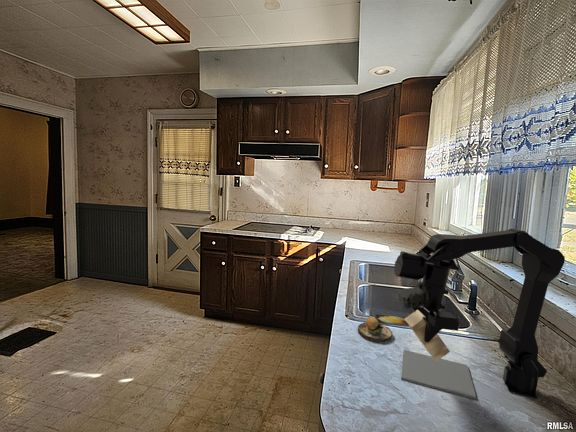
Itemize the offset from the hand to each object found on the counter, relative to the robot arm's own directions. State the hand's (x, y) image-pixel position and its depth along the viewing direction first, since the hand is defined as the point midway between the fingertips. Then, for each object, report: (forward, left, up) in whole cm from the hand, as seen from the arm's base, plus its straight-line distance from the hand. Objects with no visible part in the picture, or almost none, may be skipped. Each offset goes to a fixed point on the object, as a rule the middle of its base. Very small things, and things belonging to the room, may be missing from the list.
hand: (422, 336), depth 84 cm
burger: (+14, -21, -13) cm, 29 cm away
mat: (-5, -6, -13) cm, 15 cm away
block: (-5, -2, -4) cm, 7 cm away
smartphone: (+8, -35, -13) cm, 38 cm away
